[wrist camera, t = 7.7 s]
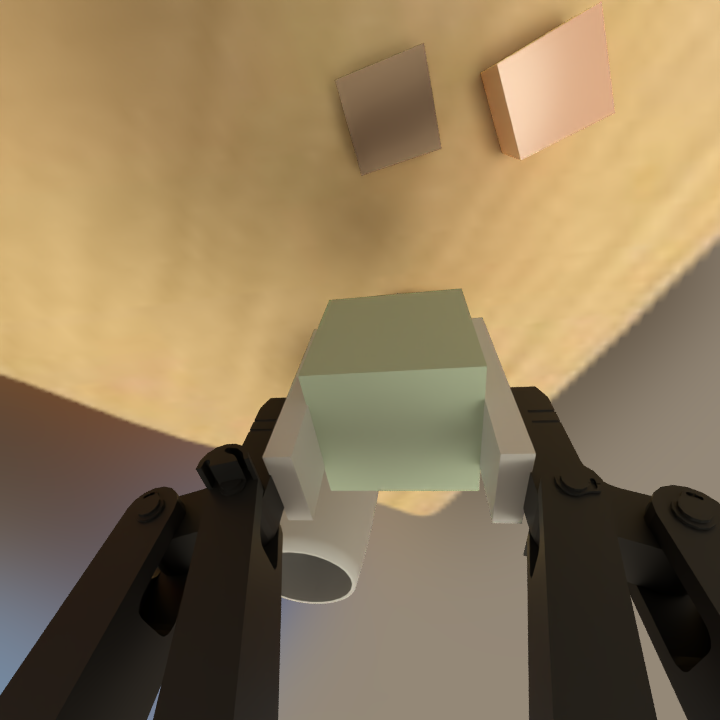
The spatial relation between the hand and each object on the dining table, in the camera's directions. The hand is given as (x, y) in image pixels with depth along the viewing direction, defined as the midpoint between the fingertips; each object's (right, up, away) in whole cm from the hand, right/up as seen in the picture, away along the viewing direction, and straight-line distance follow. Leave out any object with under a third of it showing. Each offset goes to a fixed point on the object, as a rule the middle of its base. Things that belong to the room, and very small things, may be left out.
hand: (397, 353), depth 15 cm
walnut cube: (+1, +17, +10) cm, 20 cm away
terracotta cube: (+10, +17, +9) cm, 22 cm away
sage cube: (0, 0, 0) cm, 0 cm away
